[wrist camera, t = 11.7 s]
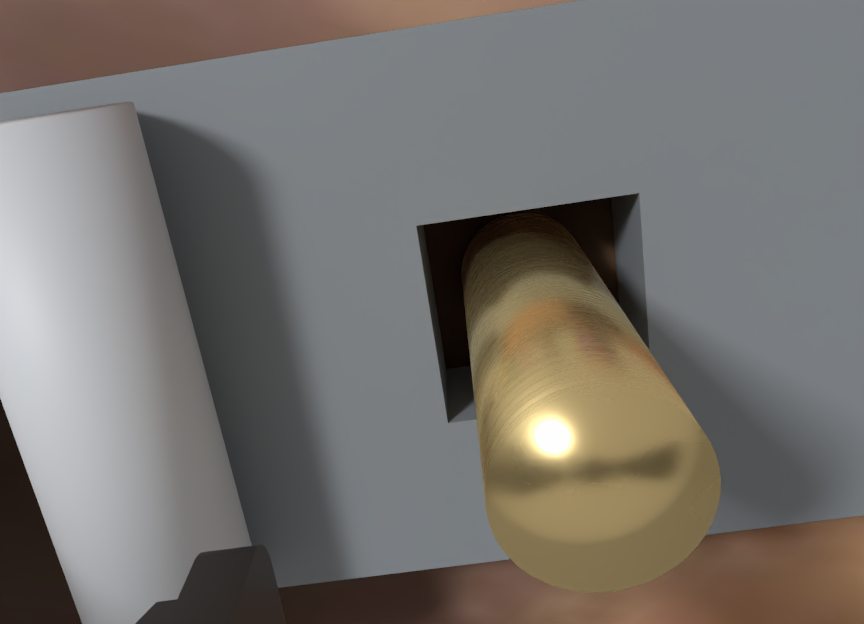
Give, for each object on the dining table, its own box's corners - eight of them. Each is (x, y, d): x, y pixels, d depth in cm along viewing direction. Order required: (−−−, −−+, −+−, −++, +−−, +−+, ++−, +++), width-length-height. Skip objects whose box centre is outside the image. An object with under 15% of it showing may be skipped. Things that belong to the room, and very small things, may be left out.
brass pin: (470, 336, 20) (500, 605, 11) (453, 221, 19) (470, 406, 10) (588, 320, 20) (724, 578, 11) (578, 203, 19) (716, 373, 10)
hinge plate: (153, 534, 22) (43, 731, 16) (14, 92, 18) (-203, 124, 12) (965, 430, 21) (1189, 598, 15) (1005, -67, 17) (1331, -123, 11)
